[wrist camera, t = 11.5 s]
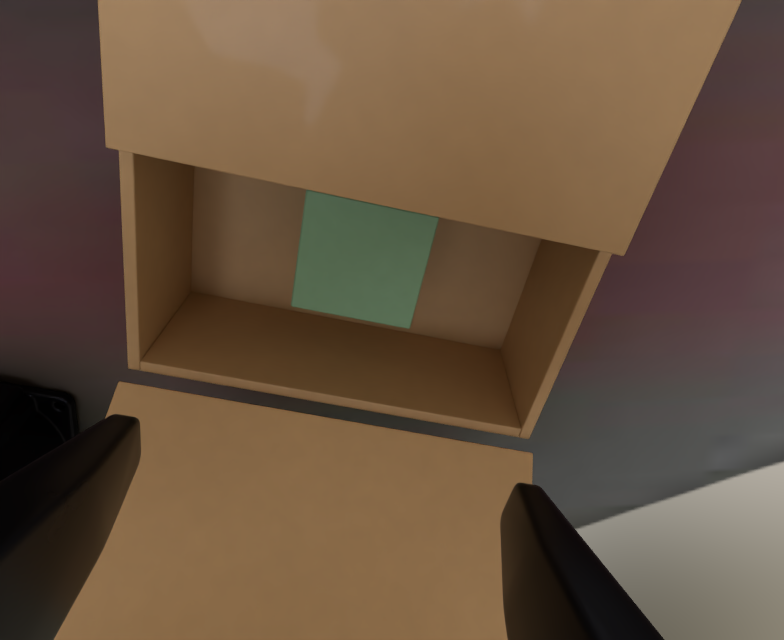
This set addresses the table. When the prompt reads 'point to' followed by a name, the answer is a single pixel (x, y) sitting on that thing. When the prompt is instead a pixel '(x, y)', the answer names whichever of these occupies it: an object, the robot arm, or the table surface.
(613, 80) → the carton
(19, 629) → the robot arm
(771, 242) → the table surface
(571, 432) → the table surface
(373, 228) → the block
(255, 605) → the flap
